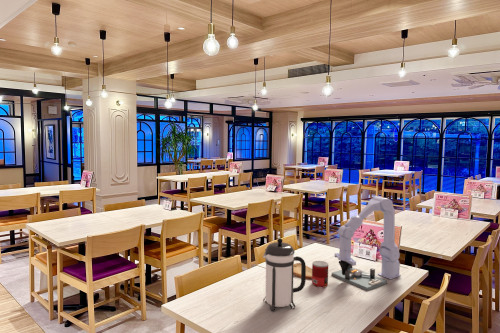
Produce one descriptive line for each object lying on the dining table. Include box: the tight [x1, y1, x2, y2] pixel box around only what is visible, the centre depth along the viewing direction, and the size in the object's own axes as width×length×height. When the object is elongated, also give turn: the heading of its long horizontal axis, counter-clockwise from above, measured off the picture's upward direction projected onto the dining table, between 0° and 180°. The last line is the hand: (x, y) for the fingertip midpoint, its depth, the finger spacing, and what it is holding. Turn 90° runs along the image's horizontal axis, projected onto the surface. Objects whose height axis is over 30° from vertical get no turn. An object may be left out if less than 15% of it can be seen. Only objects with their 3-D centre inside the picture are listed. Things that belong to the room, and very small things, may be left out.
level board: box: [331, 266, 388, 292], centre depth 182 cm, size 16×23×4 cm
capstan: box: [345, 264, 376, 280], centre depth 182 cm, size 14×16×4 cm
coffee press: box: [262, 237, 307, 313], centre depth 153 cm, size 17×16×30 cm
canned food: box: [311, 260, 329, 288], centre depth 175 cm, size 8×8×11 cm
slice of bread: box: [293, 262, 312, 281], centre depth 190 cm, size 18×18×4 cm
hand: (344, 274), depth 180 cm, fingers closed
